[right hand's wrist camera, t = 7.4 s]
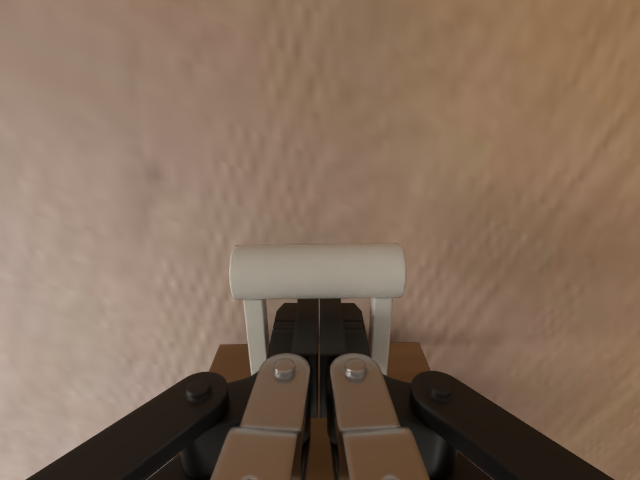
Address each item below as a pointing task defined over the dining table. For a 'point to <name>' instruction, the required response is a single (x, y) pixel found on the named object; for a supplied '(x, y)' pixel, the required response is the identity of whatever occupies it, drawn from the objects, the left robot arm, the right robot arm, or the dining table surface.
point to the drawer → (311, 283)
